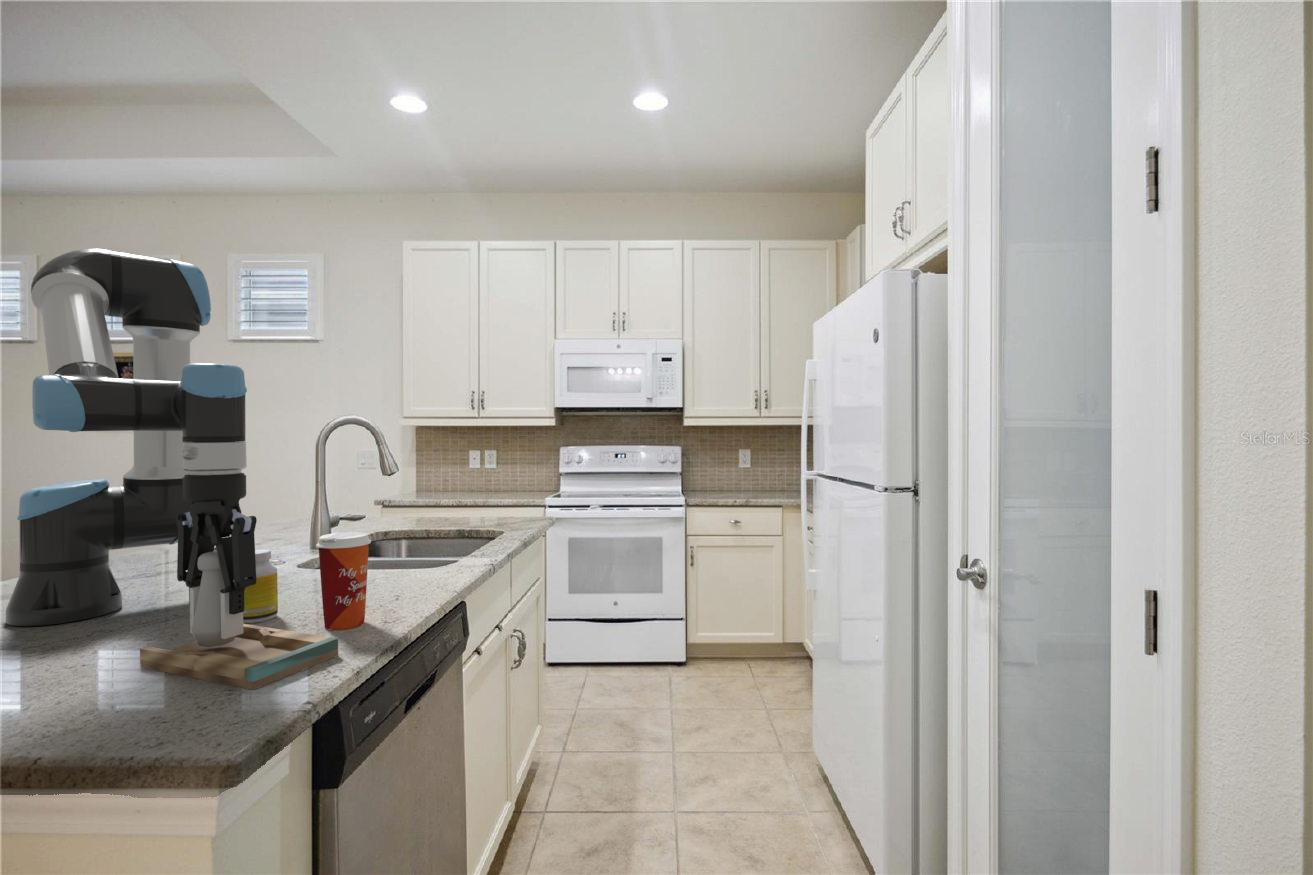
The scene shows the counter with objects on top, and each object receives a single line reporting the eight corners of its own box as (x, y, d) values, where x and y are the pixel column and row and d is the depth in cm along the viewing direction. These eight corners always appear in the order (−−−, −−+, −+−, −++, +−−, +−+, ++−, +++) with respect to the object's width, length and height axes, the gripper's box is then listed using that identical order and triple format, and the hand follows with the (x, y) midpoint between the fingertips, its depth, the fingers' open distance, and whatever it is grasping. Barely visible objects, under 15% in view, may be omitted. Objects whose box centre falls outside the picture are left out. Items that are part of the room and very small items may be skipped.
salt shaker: (208, 636, 95) (207, 548, 95) (249, 635, 96) (248, 548, 96) (182, 649, 89) (181, 556, 89) (226, 648, 90) (225, 555, 90)
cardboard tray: (140, 666, 89) (139, 648, 89) (232, 637, 101) (232, 622, 101) (253, 689, 81) (252, 670, 81) (338, 655, 93) (338, 638, 93)
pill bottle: (282, 619, 111) (281, 551, 111) (238, 627, 106) (237, 557, 106) (272, 611, 115) (271, 546, 115) (229, 618, 111) (228, 551, 111)
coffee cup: (350, 634, 103) (349, 540, 102) (305, 630, 104) (304, 538, 104) (382, 618, 111) (381, 532, 111) (340, 616, 112) (339, 530, 112)
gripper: (143, 472, 92) (145, 633, 92) (235, 475, 85) (236, 649, 86) (197, 469, 99) (199, 619, 99) (285, 472, 92) (287, 632, 93)
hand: (216, 632), depth 93 cm, fingers closed on salt shaker, 6 cm apart
